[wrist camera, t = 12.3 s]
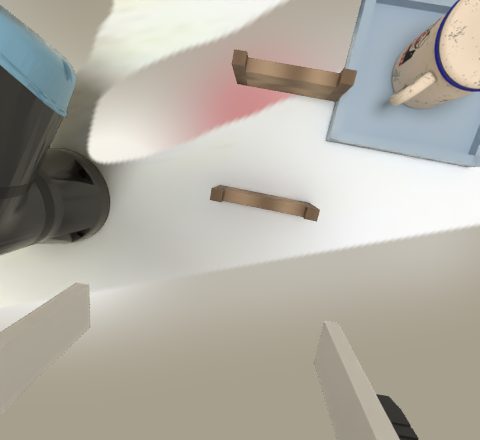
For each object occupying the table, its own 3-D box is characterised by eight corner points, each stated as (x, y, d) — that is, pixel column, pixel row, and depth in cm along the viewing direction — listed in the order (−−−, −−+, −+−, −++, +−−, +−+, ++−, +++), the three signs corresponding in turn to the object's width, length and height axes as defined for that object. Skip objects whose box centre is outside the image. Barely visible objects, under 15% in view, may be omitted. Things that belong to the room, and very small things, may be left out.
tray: (325, 140, 34) (329, 138, 32) (363, -6, 30) (370, -19, 28) (467, 166, 33) (480, 166, 31) (526, 19, 29) (545, 8, 27)
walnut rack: (218, 194, 37) (209, 199, 31) (239, 72, 33) (234, 49, 27) (307, 212, 36) (316, 221, 30) (338, 89, 32) (357, 70, 26)
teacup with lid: (442, 16, 29) (560, -83, 18) (477, 80, 30) (610, 25, 19) (355, 83, 31) (409, 34, 20) (391, 140, 32) (461, 124, 21)
